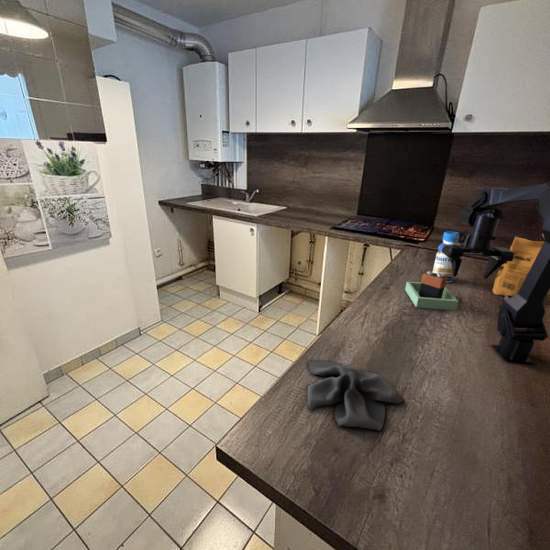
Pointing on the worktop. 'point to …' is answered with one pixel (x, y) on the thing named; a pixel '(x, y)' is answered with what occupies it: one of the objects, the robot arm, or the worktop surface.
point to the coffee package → (516, 267)
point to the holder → (434, 303)
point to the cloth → (352, 394)
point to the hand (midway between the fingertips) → (469, 277)
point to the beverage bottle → (445, 257)
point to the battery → (432, 285)
